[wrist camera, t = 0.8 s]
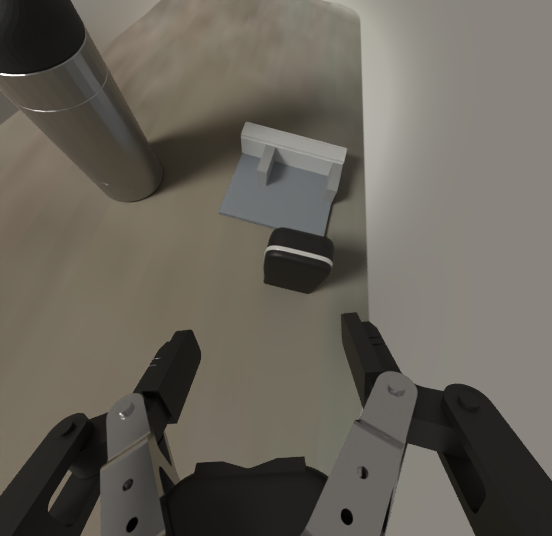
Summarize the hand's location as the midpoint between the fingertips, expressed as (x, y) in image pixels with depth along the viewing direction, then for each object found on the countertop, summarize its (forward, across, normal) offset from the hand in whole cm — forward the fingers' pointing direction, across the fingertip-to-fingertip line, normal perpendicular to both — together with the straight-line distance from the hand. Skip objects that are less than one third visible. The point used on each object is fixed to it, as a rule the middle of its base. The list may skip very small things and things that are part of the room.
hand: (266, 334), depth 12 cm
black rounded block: (+19, -1, +8) cm, 21 cm away
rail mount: (+30, -1, -3) cm, 30 cm away
